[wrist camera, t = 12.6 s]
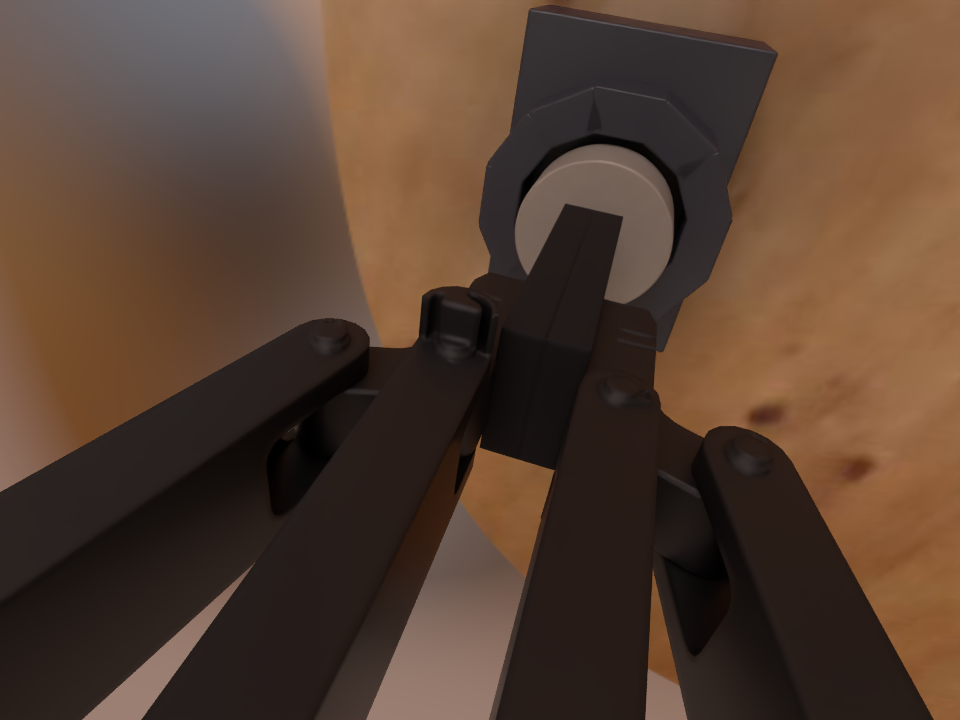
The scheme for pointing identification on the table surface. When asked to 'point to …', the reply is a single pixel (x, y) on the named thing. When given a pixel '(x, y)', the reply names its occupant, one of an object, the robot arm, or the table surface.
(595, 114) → the button base
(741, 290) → the table surface
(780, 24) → the table surface
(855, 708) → the robot arm
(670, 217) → the plunger
